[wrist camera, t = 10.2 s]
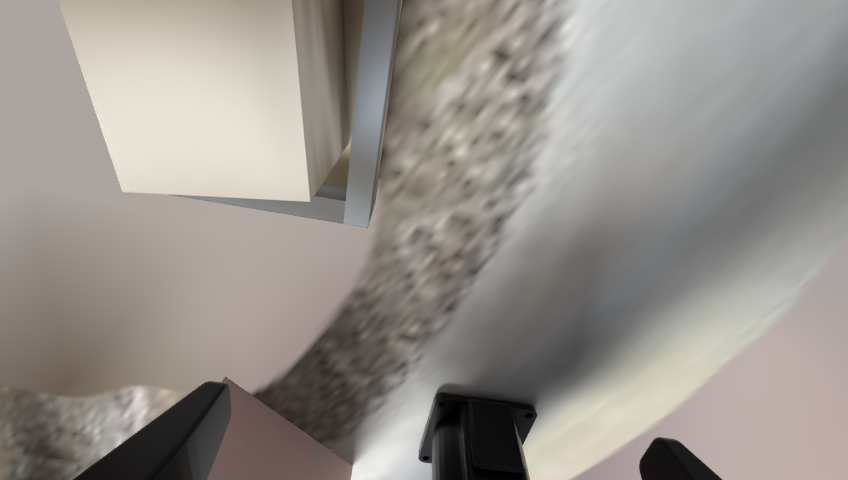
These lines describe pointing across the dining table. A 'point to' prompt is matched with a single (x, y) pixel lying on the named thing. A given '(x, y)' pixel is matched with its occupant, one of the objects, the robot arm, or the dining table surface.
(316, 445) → the greeting card
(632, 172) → the dining table surface
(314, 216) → the jig board
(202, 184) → the block
